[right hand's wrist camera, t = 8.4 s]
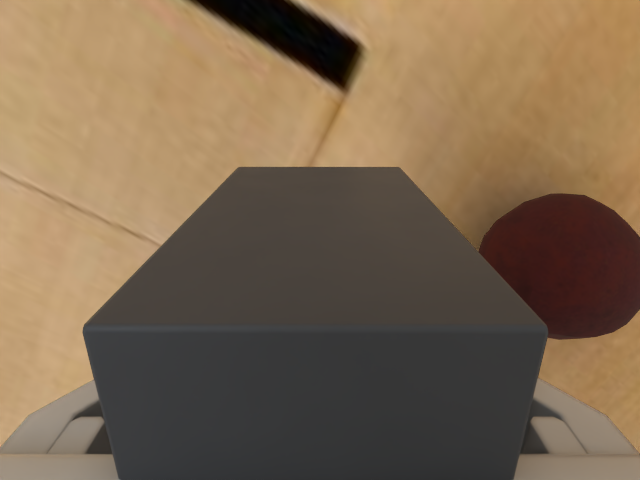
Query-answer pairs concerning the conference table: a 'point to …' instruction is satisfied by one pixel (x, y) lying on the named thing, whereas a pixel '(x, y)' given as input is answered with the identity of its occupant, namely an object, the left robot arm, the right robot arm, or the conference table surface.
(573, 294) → the potato
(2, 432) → the conference table surface
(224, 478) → the bar
